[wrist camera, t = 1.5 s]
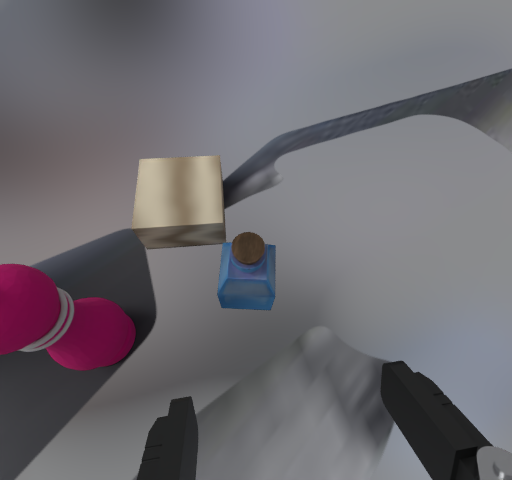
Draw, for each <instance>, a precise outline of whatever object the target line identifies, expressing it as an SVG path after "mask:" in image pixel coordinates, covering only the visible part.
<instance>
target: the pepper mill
mask: <svg viewBox="0 0 512 480" xmlns="http://www.w3.org/2000/svg"><path fill="white" fill-rule="evenodd" d="M135 335H136V330H135V326H134V323H133V321H132V319H131V318H130V317H129V316H128V315H126V314H125V313H124V311H123V310H122V309H121V308H120V306H119V305H117V304H116V303H114V302H112V301H109V300H107V299H104V298H98V297H90V298H83V299H78V300H75V301H73V300H72V298H71V297H70V295H69V294H68V293H67V292H65V291H64V290H62V289H60V288H58V287H56V285H55V283H54V282H53V280H52V279H51V278H50V277H48V276H47V275H46V274H45V273H43V272H41V271H40V270H38V269H35V268H32V267H29V266H25V265H20V264H2V265H0V355H1V354H8V353H11V352H14V351H25V352H32V351H38V350H41V349H44V348H45V349H46V350H47V351H48V353H49V354H50V356H51V357H52V358H53V359H54V360H55V361H56V362H58V363H59V364H60V365H62V366H64V367H66V368H70V369H74V370H90V369H94V368H97V367H103V366H109V365H113V364H115V363H117V362H118V361H120V360H121V359H122V358H124V357H125V356H126V355H127V354H128V352H129V351H130V349H131V348H132V346H133V343H134V340H135Z"/></svg>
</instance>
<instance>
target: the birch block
mask: <svg viewBox="0 0 512 480" xmlns="http://www.w3.org/2000/svg"><path fill="white" fill-rule="evenodd" d="M132 230H133V231H134V233H135V234H136V235H137V237H138V238H139V239H140V240H141V242H142V243H143V244H144V246H145V247H146V248H147V250H148V249H161V248H176V247H189V246H203V245H216V244H223V243H226V232H225V214H224V196H223V180H222V171H221V162H220V156H199V157H179V158H160V159H159V158H158V159H140V162H139V171H138V179H137V187H136V196H135V204H134V213H133V221H132Z"/></svg>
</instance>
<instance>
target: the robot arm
mask: <svg viewBox="0 0 512 480" xmlns="http://www.w3.org/2000/svg"><path fill="white" fill-rule="evenodd" d="M381 397H382V400H383V403H384V405H385V407H386V409H387V410H388V412H389V413H390V415H391V416H392V418H393V420H394V421H395V423H396V424H397V426H398V427H399V429H400V430H401V432H402V433H403V435H404V436H405V438H406V439H407V441H408V443H409V444H410V446H411V447H412V449H413V450H414V452H415V454H416V455H417V456H418V458H419V460H420V461H421V463H422V464H423V466H424V467H425V469H426V471H427V472H428V474H429V475H430V477H431V478H432V479H433V480H512V454H511V453H510V452H508V451H506V450H503V449H500V448H497V447H494V446H493V445H492V444H490V442H489V441H487V439H486V438H485V437H484V436H483V435H482V434H481V433H480V432H479V431H478V430H477V428H476V427H475V426H474V425H473V424H472V423H471V422H470V421H469V420H468V419H467V418H466V417H465V416H464V414H463V413H462V412H461V411H460V410H459V409H458V408H457V407H456V406H455V405H453V404H452V402H451V400H450V399H449V398H448V397H447V396H446V395H444V394H443V392H442V391H441V390H440V389H439V387H438V386H437V385H436V384H435V383H434V382H433V381H432V380H430V379H429V378H427V377H425V376H424V375H423V374H421V373H420V372H416V373H414V372H413V371H412V370H411V369H410V368H409V367H408V366H407V364H405V363H404V362H403V361H396V362H390V363H384V364H383V366H382V378H381ZM197 452H198V425H197V420H196V415H195V410H194V406H193V401H192V397H191V396H190V397H184V398H179V399H173V400H171V403H170V408H169V413H168V416H165V417H160V418H157V420H156V421H155V423H154V425H153V426H152V428H151V429H150V431H149V433H148V438H147V442H146V445H145V451H144V454H143V457H142V464H141V465H140V469H139V473H138V477H137V480H195V479H196V465H197Z"/></svg>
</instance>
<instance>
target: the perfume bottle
mask: <svg viewBox="0 0 512 480" xmlns="http://www.w3.org/2000/svg"><path fill="white" fill-rule="evenodd" d="M217 295H218V298H219V301H220V304H221V307H222V308H232V309H254V310H271V307H272V305H273V302H274V299H275V245H268V244H264V241H263V239H262V238H261V237H260V236H259V235H257V234H255V233H251V232H246V233H245V232H244V233H242V234H239V235H238V236H237V237H235V239H234V240H233V242H232V243H223V247H222V255H221V266H220V274H219V284H218V294H217Z"/></svg>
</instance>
